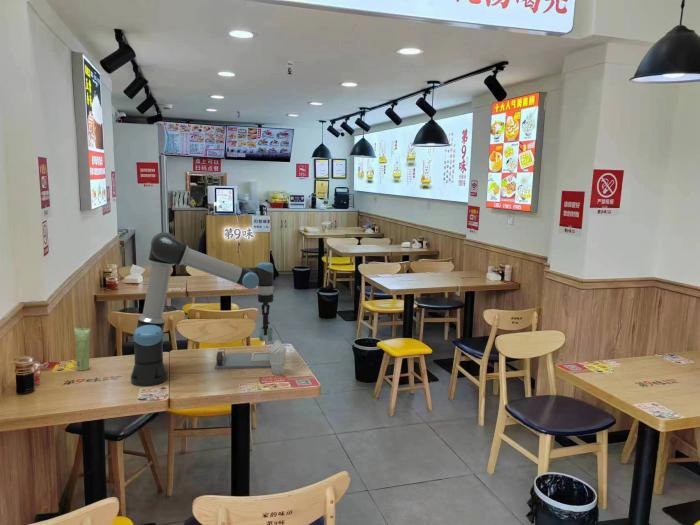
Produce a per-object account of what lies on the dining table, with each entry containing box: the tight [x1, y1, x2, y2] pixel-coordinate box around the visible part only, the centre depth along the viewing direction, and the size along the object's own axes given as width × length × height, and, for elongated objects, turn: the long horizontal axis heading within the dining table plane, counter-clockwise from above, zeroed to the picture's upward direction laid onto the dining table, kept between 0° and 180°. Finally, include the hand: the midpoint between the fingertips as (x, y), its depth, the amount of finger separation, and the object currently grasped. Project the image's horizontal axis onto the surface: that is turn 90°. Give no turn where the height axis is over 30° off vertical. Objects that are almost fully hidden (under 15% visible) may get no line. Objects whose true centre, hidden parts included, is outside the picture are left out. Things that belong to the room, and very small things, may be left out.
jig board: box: [214, 351, 272, 370], centre depth 256 cm, size 30×20×2 cm, turn 99°
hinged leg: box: [216, 347, 226, 365], centre depth 252 cm, size 14×3×6 cm, turn 9°
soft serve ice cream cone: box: [267, 339, 287, 376], centre depth 240 cm, size 8×8×16 cm
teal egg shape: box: [258, 327, 273, 342], centre depth 258 cm, size 6×6×6 cm
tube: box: [73, 327, 91, 371], centre depth 239 cm, size 6×5×20 cm
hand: (265, 339), depth 258 cm, fingers closed on teal egg shape, 6 cm apart
